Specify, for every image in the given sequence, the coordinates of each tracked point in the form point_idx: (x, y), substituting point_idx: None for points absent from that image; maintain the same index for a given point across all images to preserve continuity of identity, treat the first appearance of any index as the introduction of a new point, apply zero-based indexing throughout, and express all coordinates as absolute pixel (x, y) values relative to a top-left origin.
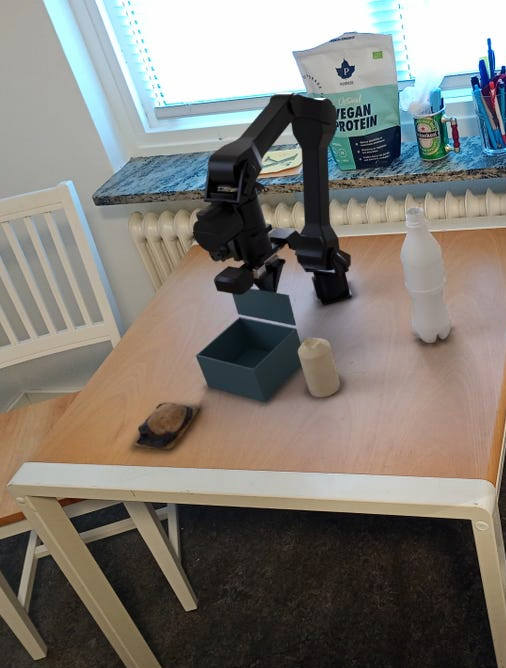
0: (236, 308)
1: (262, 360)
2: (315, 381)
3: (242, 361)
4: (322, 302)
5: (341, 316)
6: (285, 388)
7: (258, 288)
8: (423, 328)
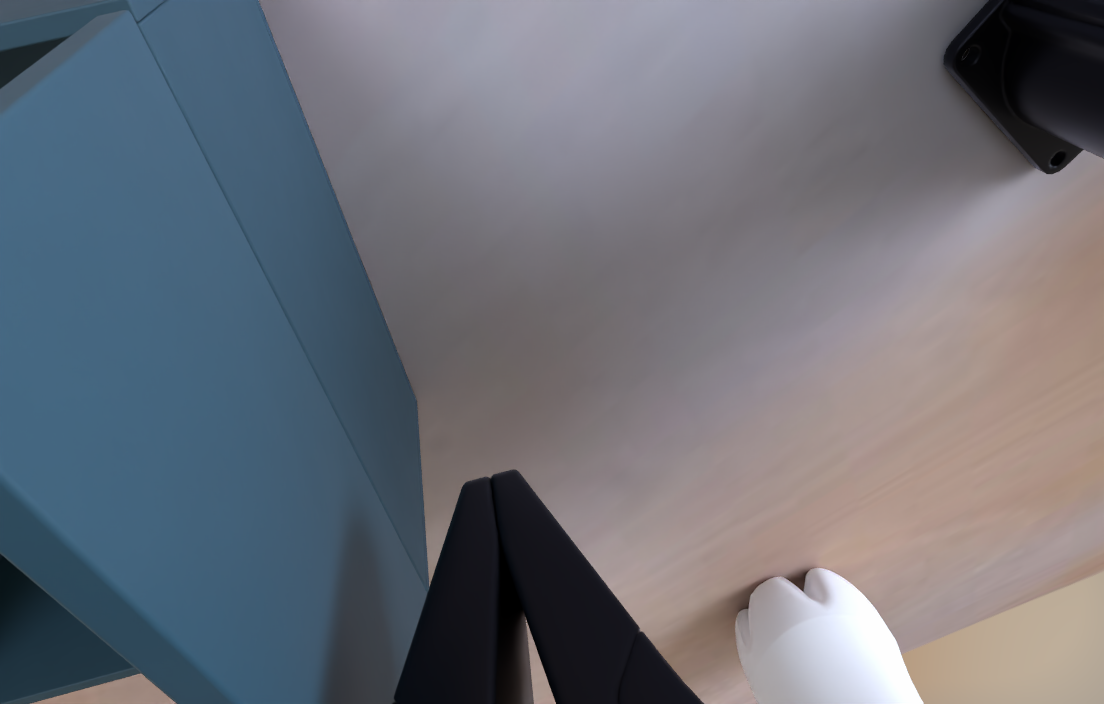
0: (62, 44)
1: (19, 701)
2: None
3: None
4: (963, 53)
5: (836, 258)
6: None
7: (395, 695)
8: (753, 692)
